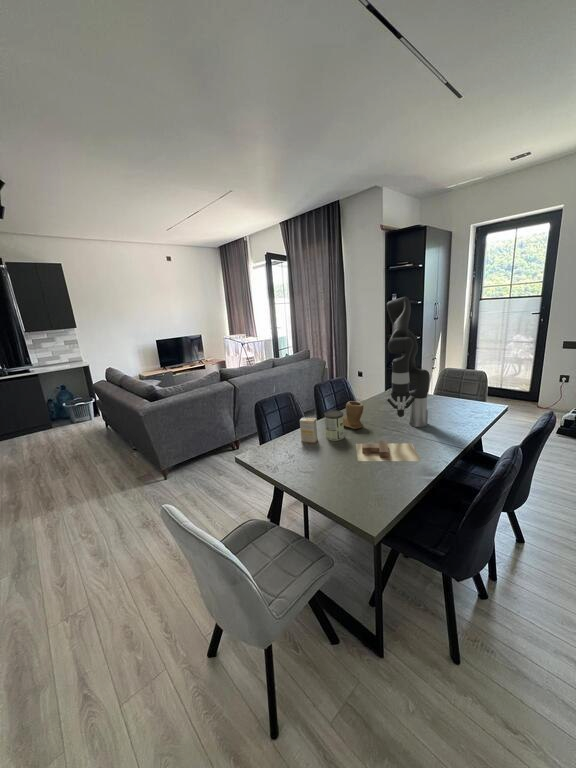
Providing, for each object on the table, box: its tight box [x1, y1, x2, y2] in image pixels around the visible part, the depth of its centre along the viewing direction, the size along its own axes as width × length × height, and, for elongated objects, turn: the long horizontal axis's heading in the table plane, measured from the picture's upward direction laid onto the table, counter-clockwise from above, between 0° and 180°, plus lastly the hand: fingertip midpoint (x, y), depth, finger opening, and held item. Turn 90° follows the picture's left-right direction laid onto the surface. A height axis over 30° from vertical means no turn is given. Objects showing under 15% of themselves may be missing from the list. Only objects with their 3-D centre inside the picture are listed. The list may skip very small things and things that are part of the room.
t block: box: [361, 440, 389, 458], centre depth 151 cm, size 12×12×3 cm
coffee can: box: [324, 410, 345, 442], centre depth 171 cm, size 10×10×14 cm
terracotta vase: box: [343, 400, 364, 430], centre depth 185 cm, size 15×12×15 cm
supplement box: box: [299, 417, 319, 444], centre depth 169 cm, size 8×5×13 cm, turn 65°
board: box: [355, 442, 422, 462], centre depth 150 cm, size 28×18×1 cm, turn 81°
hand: (400, 416), depth 145 cm, fingers closed
